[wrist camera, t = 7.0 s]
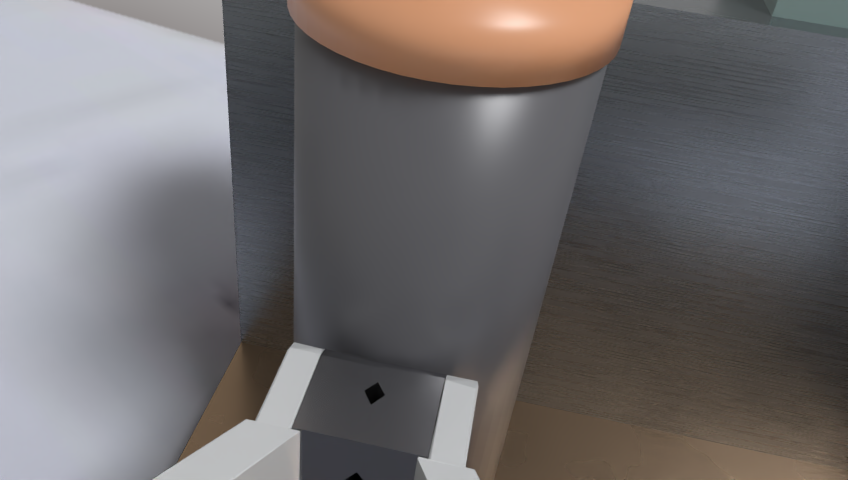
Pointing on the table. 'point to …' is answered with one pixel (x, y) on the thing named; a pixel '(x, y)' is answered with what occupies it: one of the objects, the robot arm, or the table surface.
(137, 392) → the table surface
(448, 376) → the robot arm
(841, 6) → the potentiometer
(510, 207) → the orange-capped knob
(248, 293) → the mount
